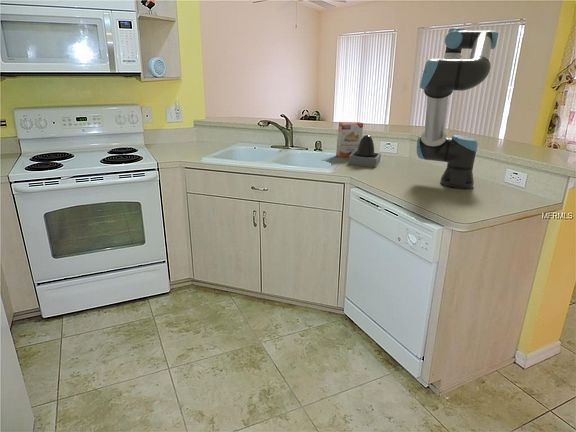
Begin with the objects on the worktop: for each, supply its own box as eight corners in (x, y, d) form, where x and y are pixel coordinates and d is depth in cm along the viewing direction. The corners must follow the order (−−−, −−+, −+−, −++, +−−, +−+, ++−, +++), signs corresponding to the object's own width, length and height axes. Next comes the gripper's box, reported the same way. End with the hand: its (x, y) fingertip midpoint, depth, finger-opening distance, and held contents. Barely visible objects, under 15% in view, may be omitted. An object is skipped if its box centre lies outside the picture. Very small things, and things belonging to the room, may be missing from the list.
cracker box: (339, 157, 240) (342, 123, 232) (335, 155, 245) (338, 121, 238) (360, 157, 244) (363, 122, 236) (356, 154, 249) (359, 121, 241)
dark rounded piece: (372, 159, 233) (375, 134, 227) (374, 163, 223) (377, 137, 218) (355, 158, 234) (357, 133, 228) (356, 162, 224) (359, 136, 219)
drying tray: (375, 167, 220) (376, 158, 218) (348, 164, 225) (349, 155, 223) (380, 161, 233) (381, 153, 231) (354, 158, 238) (355, 150, 236)
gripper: (459, 62, 183) (451, 108, 191) (459, 62, 205) (451, 104, 212) (442, 61, 185) (435, 107, 193) (443, 62, 207) (437, 103, 215)
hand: (443, 106), depth 203 cm, fingers open, 13 cm apart
